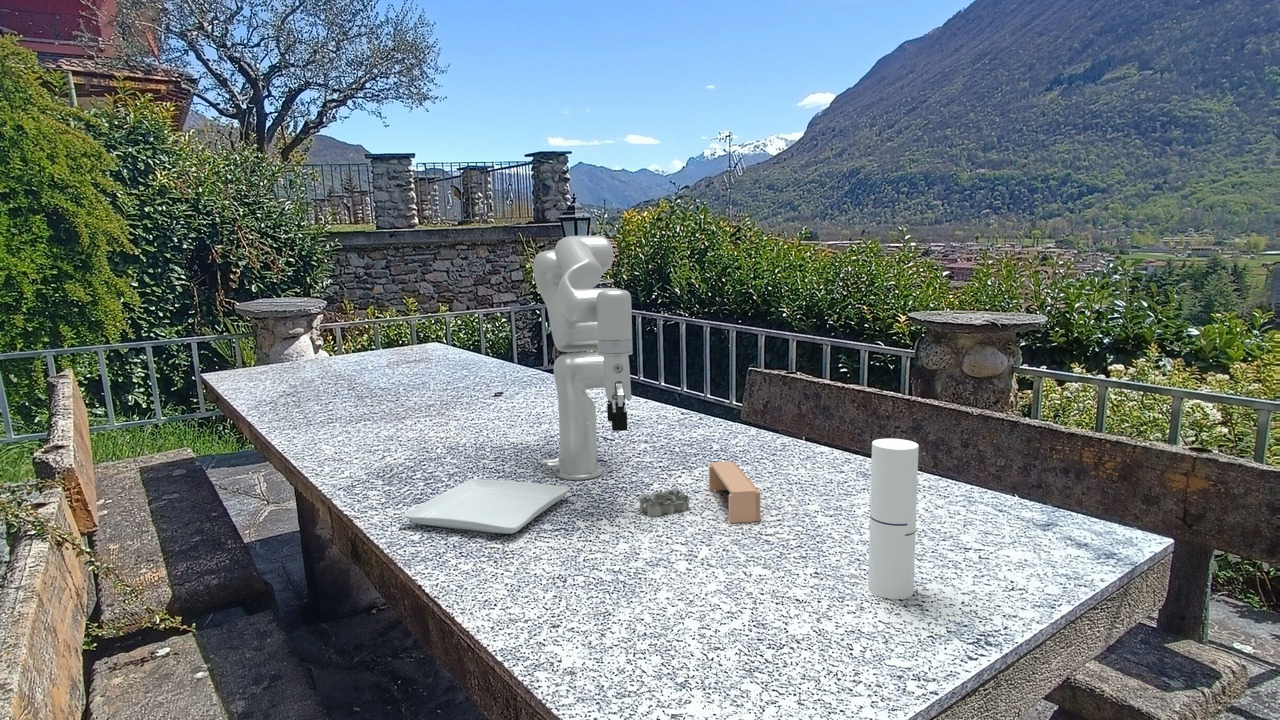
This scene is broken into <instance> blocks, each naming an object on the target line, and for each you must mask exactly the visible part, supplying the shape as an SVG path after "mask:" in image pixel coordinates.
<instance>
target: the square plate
mask: <svg viewBox="0 0 1280 720" xmlns="http://www.w3.org/2000/svg"><path fill="white" fill-rule="evenodd" d="M570 490H571V487H570V486H564V485H556V484H555V485H554V484H553V485H552V484H545V483H537V482H536V483H535V482H525V481H515V480H512V481H511V480H498V479H482V478H481V479H480V478H470V479H468V480H466V481H464V482H462V483H460V484H458V485H456V486H454V487H452V488H449V489H448V490H445V491H443V492H441V493H440V494H437V495H435V496H434V497H432V498H431V499H429V500H427V501H424V502H423V503H421V504H420V505H418V506H416V507H414V508H413V509H411V510H410V511H408V512H406V513H404V514H403V515H402V517H404V519H407V520H409V521H410V522H412V523H415V524H418V525H425V526H430V527H431V526H432V527H439V528H447V529H455V530H464V531H465V530H466V531H473V532H474V531H475V532H480V533H481V532H483V533H492V534H504V535H505V534H506V535H507V534H509V535H510V534H514V533H516V532H518V531H519V530H522V528H523V527H525V526H526V525H527V524H529V523H530V522H531V521H533V520H534V519H535V518H536V517H538V516H539V515H540V514H542V513H543V512H544V511H546V510H547V509H549V508H550V507H552V506H554V505H555V504H556V503H558V502H560V501H561V500H562V499H563V498H564V497H565V496H566V495H567V494H568V493H569V491H570Z"/></svg>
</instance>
